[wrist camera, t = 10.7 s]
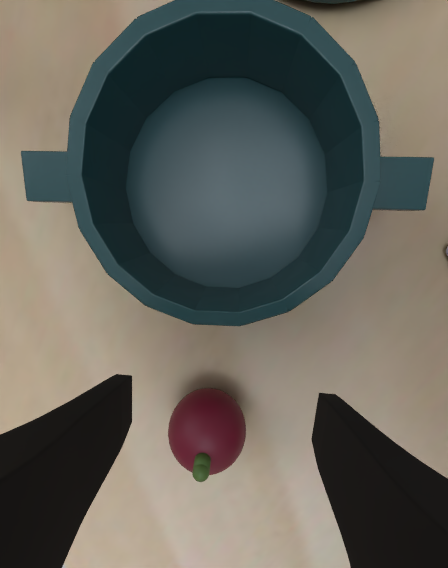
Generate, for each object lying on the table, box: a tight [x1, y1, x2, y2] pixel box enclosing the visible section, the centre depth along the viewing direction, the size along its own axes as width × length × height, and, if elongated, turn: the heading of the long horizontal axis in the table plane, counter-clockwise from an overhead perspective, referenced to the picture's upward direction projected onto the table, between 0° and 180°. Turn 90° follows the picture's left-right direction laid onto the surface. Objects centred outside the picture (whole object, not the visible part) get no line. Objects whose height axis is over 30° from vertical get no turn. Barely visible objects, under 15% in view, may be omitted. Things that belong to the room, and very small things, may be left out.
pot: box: [21, 0, 434, 326], centre depth 16 cm, size 15×20×6 cm
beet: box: [168, 388, 246, 482], centre depth 19 cm, size 5×5×7 cm
